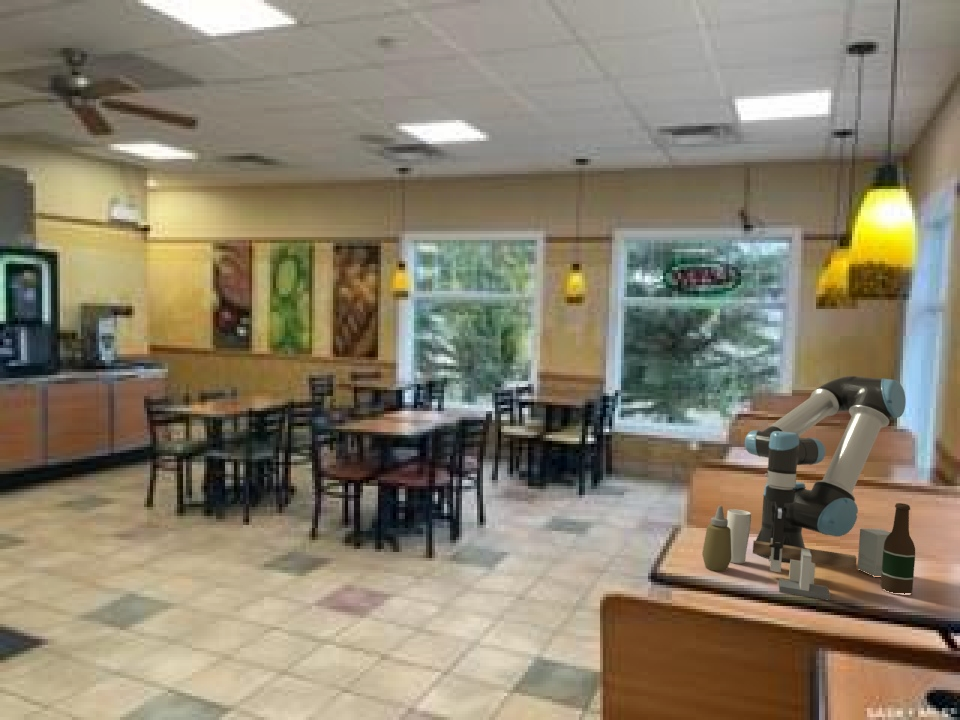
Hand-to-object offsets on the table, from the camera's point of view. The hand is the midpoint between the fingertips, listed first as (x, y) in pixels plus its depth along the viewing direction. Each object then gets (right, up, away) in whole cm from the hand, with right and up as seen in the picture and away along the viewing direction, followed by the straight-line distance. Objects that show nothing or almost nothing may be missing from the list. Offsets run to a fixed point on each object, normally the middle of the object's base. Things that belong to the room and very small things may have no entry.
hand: (774, 566), depth 201 cm
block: (+6, -3, -2) cm, 8 cm away
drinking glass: (-7, -2, +13) cm, 14 cm away
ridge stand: (+3, -3, -12) cm, 13 cm away
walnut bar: (+7, +3, -3) cm, 8 cm away
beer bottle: (+31, -5, -6) cm, 32 cm away
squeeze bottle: (-15, -2, +4) cm, 16 cm away
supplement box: (+34, -5, +9) cm, 35 cm away
